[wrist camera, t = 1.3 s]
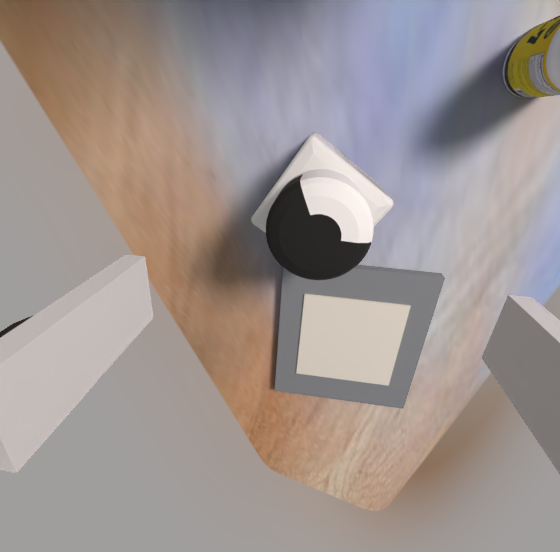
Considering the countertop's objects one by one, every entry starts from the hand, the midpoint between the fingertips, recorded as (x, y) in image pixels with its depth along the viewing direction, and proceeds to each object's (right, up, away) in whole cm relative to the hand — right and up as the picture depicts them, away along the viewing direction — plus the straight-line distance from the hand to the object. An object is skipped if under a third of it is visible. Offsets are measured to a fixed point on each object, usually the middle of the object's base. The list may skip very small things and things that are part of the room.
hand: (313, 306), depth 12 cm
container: (+3, +9, +19) cm, 21 cm away
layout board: (+7, -6, +25) cm, 27 cm away
